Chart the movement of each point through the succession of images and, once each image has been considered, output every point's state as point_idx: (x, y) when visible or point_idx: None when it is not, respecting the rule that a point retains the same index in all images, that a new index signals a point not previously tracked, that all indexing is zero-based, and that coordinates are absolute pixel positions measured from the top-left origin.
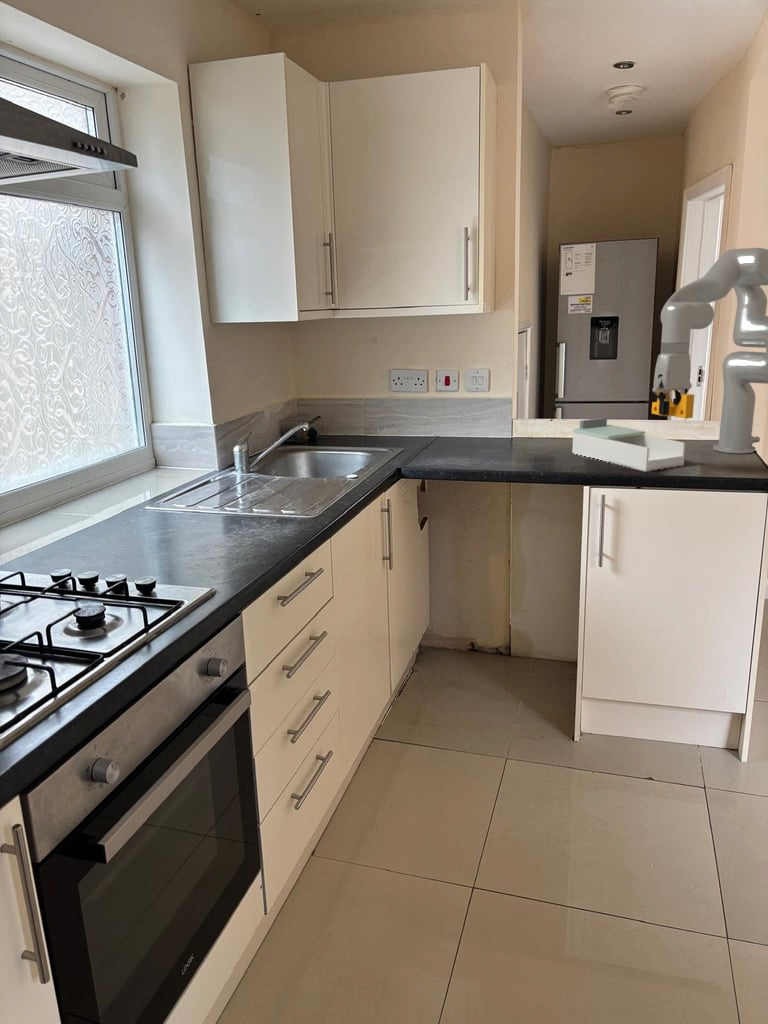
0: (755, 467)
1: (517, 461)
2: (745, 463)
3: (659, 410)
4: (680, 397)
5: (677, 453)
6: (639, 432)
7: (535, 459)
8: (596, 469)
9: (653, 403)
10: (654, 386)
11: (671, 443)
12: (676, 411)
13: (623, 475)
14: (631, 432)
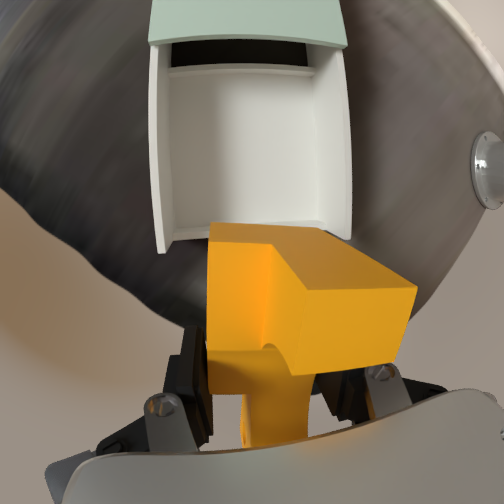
0: (414, 308)
1: (20, 23)
2: (432, 271)
3: (169, 357)
4: (350, 418)
5: (328, 207)
6: (319, 40)
7: (56, 8)
8: (77, 147)
9: (209, 256)
10: (55, 500)
11: (340, 180)
12: (246, 407)
13: (94, 241)
14: (288, 26)
